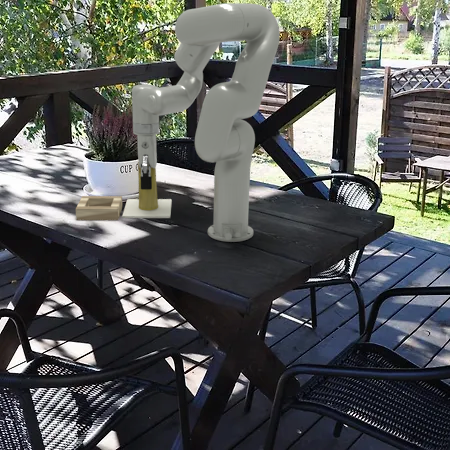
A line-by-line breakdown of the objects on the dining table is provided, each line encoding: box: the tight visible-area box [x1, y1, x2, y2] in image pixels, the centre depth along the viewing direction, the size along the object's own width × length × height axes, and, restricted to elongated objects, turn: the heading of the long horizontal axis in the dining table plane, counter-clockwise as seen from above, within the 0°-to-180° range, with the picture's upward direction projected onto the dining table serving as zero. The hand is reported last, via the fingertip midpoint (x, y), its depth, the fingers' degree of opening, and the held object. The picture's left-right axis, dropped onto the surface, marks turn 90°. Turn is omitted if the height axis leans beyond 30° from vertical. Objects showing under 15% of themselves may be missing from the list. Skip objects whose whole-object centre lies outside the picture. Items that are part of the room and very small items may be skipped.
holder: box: [75, 195, 123, 221], centre depth 179 cm, size 12×12×4 cm
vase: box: [137, 161, 158, 210], centre depth 181 cm, size 6×6×14 cm
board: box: [121, 198, 173, 219], centre depth 184 cm, size 16×14×1 cm
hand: (147, 184), depth 181 cm, fingers open, 9 cm apart
